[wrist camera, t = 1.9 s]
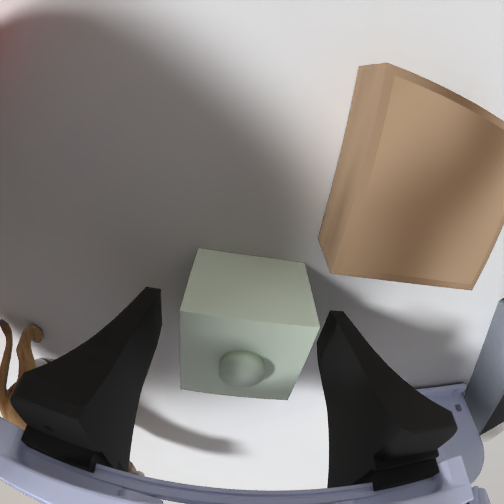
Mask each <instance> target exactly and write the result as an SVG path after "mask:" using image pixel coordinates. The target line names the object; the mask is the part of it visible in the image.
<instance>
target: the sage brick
mask: <svg viewBox="0 0 504 504" xmlns="http://www.w3.org/2000/svg"><path fill="white" fill-rule="evenodd" d="M319 329H320V325H319V320H318V316H317V312H316V307H315V303H314V299H313V295H312V291H311V287H310V283H309V279H308V275H307V271H306V267H305V263H303V262H295V261H288V260H280V259H273V258H266V257H258V256H251V255H244V254H237V253H229V252H222V251H215V250H208V249H200V248H198V250H197V254H196V257H195V260H194V264H193V267H192V270H191V273H190V277H189V280H188V284H187V287H186V290H185V294H184V297H183V301H182V304H181V308H180V384H181V389H184V390H191V391H197V392H204V393H212V394H220V395H229V396H238V397H249V398H262V399H277V400H288V398H289V396H290V394H291V392H292V390H293V388H294V385H295V383H296V381H297V379H298V377H299V375H300V372H301V370H302V368H303V366H304V364H305V361H306V359H307V357H308V355H309V352H310V350H311V348H312V345H313V343H314V341H315V338H316V336H317V334H318V331H319Z"/></svg>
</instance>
